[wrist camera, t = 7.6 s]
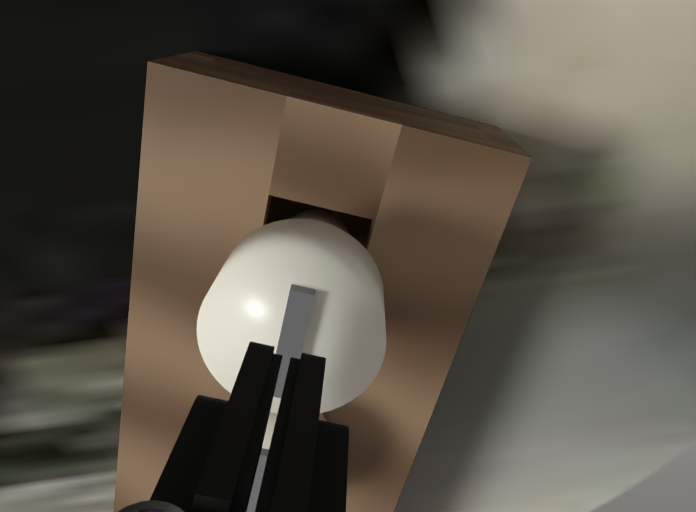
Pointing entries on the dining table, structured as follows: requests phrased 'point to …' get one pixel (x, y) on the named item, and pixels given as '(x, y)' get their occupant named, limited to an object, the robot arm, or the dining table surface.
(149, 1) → the dining table surface
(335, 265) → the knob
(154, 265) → the knob mount
